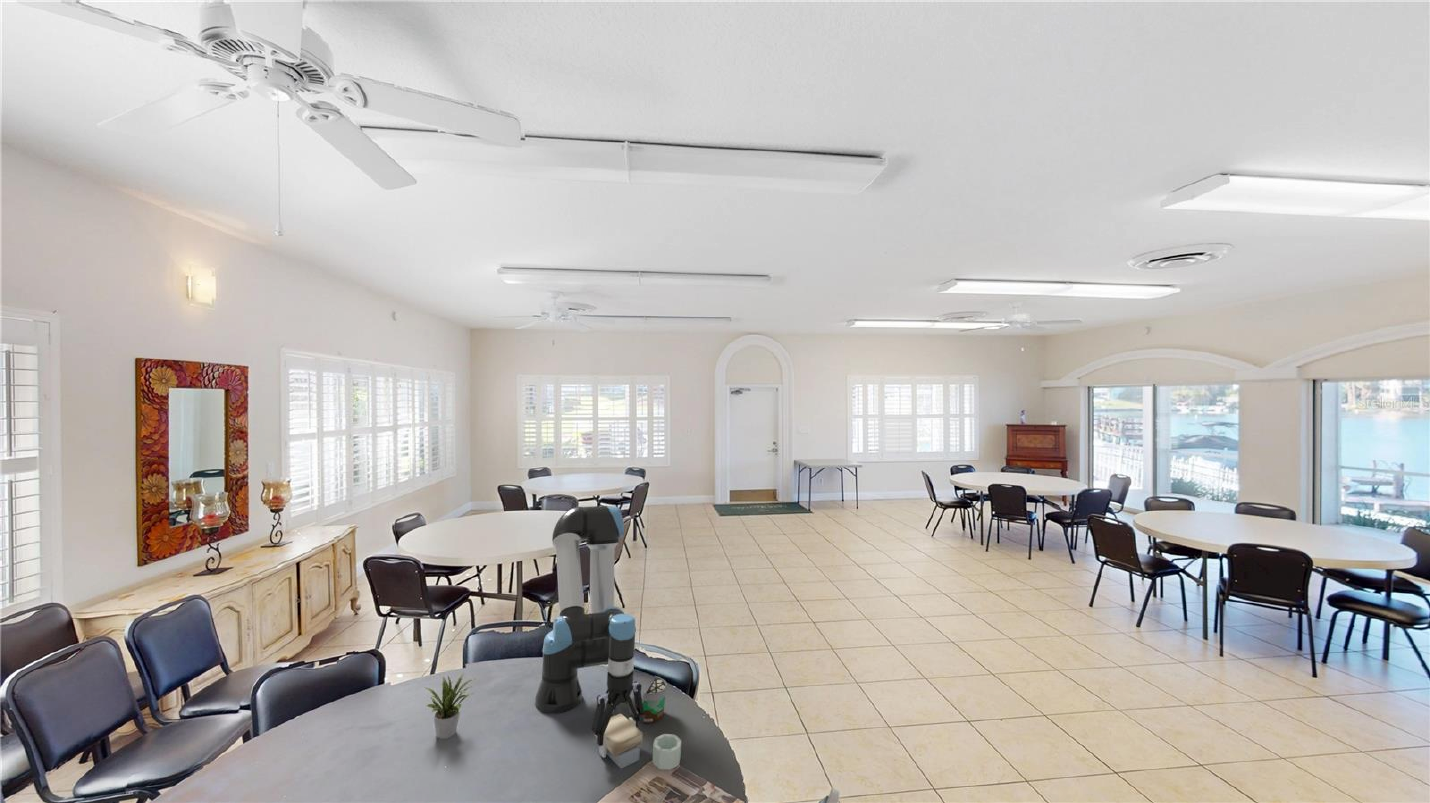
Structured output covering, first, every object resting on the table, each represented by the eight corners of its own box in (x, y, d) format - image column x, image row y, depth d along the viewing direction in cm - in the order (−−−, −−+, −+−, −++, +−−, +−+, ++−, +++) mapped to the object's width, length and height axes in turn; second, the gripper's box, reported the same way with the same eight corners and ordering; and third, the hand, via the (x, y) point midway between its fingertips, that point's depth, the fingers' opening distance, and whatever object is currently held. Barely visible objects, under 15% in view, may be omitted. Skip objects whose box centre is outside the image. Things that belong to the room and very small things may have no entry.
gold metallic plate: (593, 734, 152) (594, 723, 152) (620, 722, 158) (620, 713, 158) (614, 755, 143) (615, 745, 143) (642, 742, 149) (642, 732, 149)
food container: (660, 729, 161) (661, 697, 162) (641, 726, 163) (643, 694, 163) (671, 707, 173) (672, 677, 174) (654, 704, 175) (655, 675, 175)
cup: (648, 758, 147) (648, 740, 148) (669, 747, 152) (670, 730, 153) (663, 773, 142) (664, 754, 142) (685, 761, 147) (686, 743, 147)
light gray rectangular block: (596, 743, 153) (596, 733, 153) (614, 735, 157) (614, 725, 157) (621, 768, 143) (621, 757, 143) (639, 759, 147) (639, 748, 147)
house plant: (486, 727, 159) (489, 674, 159) (446, 754, 146) (449, 696, 147) (454, 715, 165) (456, 663, 165) (413, 739, 152) (416, 683, 153)
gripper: (593, 688, 141) (589, 771, 140) (658, 664, 155) (655, 739, 155) (580, 676, 146) (576, 756, 146) (644, 654, 161) (641, 727, 160)
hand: (617, 747), depth 150 cm, fingers closed on gold metallic plate, 9 cm apart
